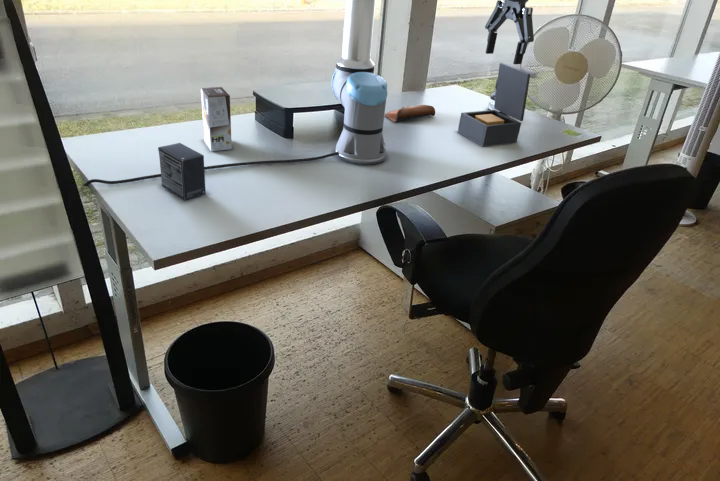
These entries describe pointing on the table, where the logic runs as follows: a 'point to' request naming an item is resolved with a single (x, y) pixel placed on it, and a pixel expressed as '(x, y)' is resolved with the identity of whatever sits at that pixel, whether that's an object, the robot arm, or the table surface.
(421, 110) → the sunglasses case
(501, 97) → the grill lid
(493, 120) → the toast sandwich
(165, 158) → the small box
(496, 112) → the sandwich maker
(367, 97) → the robot arm
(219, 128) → the coffee box
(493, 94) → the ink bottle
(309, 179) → the table surface
